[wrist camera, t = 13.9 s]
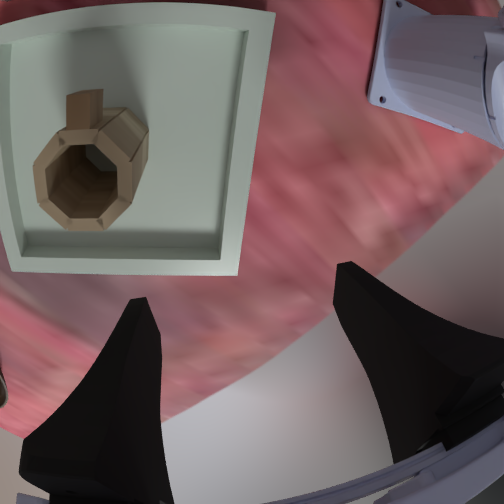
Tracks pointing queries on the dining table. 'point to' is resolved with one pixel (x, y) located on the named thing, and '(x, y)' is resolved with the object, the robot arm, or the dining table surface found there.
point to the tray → (153, 116)
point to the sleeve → (91, 164)
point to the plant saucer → (3, 391)
